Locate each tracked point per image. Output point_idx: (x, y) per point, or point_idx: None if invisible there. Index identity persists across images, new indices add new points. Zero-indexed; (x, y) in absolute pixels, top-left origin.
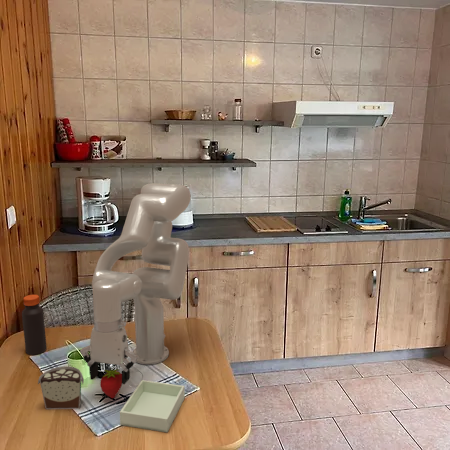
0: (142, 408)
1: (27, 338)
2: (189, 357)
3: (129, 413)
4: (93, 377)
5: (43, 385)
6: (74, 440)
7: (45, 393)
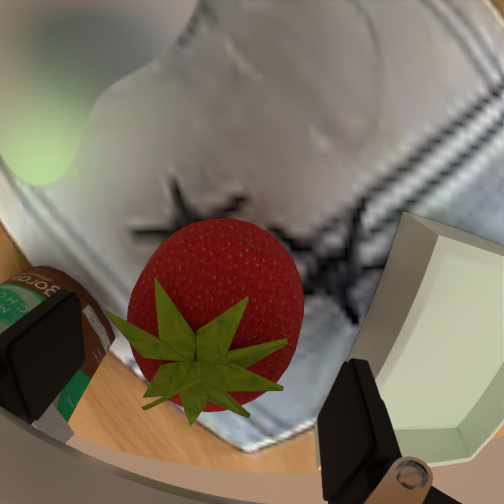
0: (404, 360)
1: None
2: None
3: None
4: (78, 362)
5: None
6: (184, 455)
7: None
